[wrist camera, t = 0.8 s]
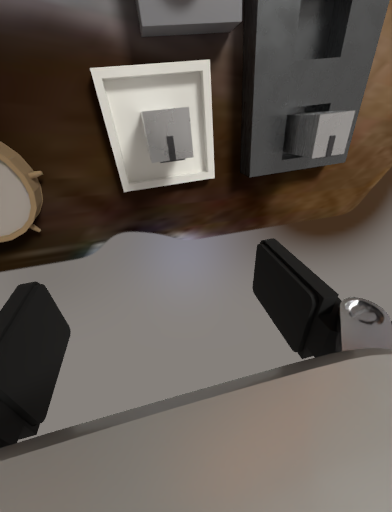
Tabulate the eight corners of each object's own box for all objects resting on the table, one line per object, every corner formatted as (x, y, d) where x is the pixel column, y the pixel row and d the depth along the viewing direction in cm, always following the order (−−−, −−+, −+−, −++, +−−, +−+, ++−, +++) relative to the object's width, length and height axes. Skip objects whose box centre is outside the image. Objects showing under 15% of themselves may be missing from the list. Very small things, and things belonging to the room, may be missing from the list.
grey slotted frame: (245, -29, 20) (260, -50, 18) (373, -31, 22) (402, -50, 20) (240, 172, 30) (249, 177, 28) (328, 158, 32) (345, 162, 30)
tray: (92, 71, 21) (89, 68, 20) (205, 62, 23) (209, 59, 22) (124, 188, 28) (124, 192, 27) (211, 175, 29) (214, 177, 28)
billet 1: (140, 112, 24) (141, 111, 18) (176, 109, 24) (189, 106, 18) (148, 154, 26) (152, 165, 20) (181, 149, 27) (193, 159, 21)
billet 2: (280, 115, 27) (320, 114, 21) (309, 111, 28) (356, 110, 22) (276, 151, 29) (312, 160, 23) (303, 147, 30) (344, 155, 24)
